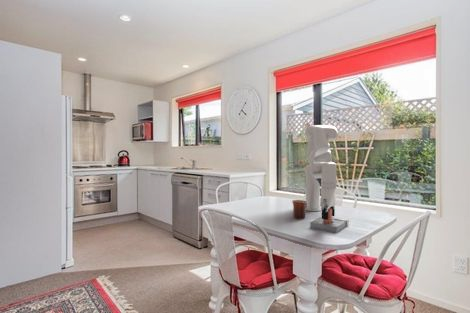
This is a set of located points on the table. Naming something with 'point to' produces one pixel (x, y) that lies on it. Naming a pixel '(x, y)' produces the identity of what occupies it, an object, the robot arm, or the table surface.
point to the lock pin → (329, 216)
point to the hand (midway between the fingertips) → (328, 217)
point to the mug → (299, 209)
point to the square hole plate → (328, 225)
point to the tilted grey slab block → (342, 220)
